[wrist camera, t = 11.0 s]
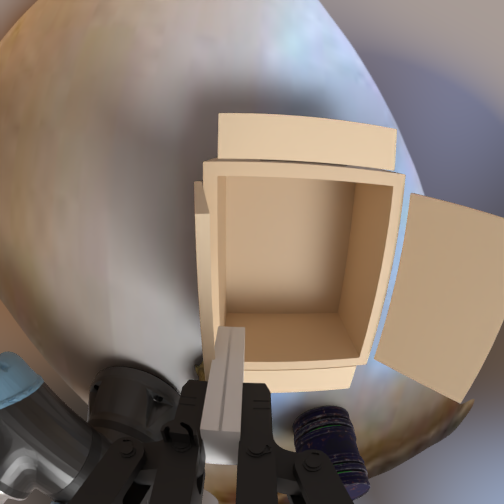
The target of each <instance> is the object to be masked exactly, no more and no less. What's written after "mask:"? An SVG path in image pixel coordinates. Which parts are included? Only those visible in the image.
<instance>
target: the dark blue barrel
mask: <svg viewBox="0 0 504 504" xmlns="http://www.w3.org/2000/svg"><path fill="white" fill-rule="evenodd" d="M293 432H294V445H295V449H296V453H301V452H303V451H306V450H311V449H315V450H320V451H322V452H324V453H326V454H327V456H328V457H329V458H330V460H331V462H332V464H333V466H334V467H335V469H336V471H337V473H338V475H339V477H340V479H341V481H342V483H343V484H344V486H345V488H346V490H347V492H348V494H349V496H350V497H351V499H352V501H353V500H356V499H357V498H360V497H361V496H363V495H365V494H366V493H367V492H368V491H369V490H370V488H371V487H370V483H369V481H368V476H367V470H366V467H365V466H364V461H363V459H362V457H361V456H360V455H359V451H358V448H357V445H356V436H355V433H354V428H353V425H352V423H351V421H350V419H349V414H348V412H347V411H346V410H345V409H343V408H341V407H337V406H323V407H318V408H315V409H312V410H309V411H307V412H305V413H304V414H302V415H301V416H299V417H298V418H297V419H296V420H295V422H294V424H293Z"/></svg>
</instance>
